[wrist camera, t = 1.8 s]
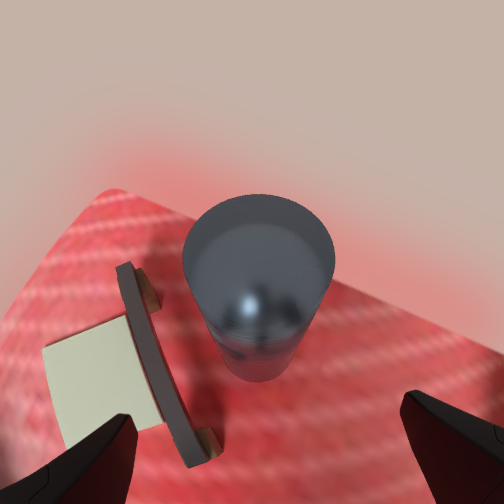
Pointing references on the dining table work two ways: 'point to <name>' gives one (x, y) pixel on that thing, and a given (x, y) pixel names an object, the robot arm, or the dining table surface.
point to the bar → (159, 369)
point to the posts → (153, 305)
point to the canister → (258, 279)
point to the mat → (98, 381)
